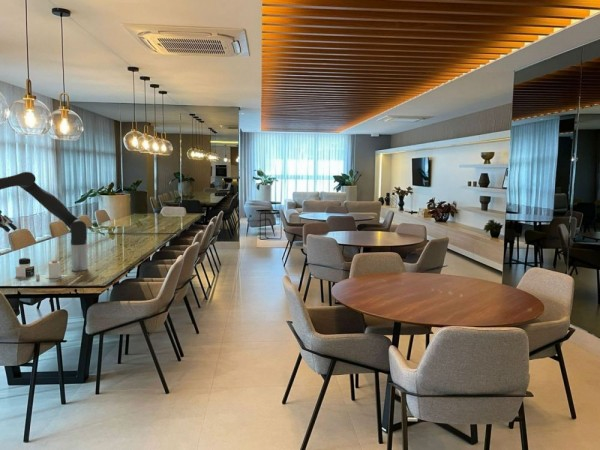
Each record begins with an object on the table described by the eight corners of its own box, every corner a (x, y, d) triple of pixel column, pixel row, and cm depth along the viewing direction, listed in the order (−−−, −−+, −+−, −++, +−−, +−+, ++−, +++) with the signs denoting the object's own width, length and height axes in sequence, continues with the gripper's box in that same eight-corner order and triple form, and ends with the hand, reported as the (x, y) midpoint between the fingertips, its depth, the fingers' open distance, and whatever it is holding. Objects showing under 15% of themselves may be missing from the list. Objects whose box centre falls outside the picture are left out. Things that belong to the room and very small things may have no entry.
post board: (44, 276, 287) (44, 268, 287) (68, 276, 287) (68, 269, 287) (26, 283, 269) (26, 275, 268) (52, 284, 268) (51, 276, 268)
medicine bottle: (25, 279, 279) (25, 259, 278) (15, 278, 281) (14, 259, 279) (34, 276, 286) (34, 257, 285) (25, 275, 288) (24, 256, 286)
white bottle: (49, 278, 277) (48, 261, 276) (52, 276, 282) (51, 260, 281) (58, 278, 278) (57, 261, 277) (61, 276, 283) (60, 260, 282)
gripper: (-12, 206, 259) (11, 227, 262) (0, 204, 273) (22, 224, 276) (-22, 216, 259) (2, 236, 262) (-9, 213, 273) (13, 233, 276)
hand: (12, 230), depth 269 cm, fingers open, 8 cm apart
